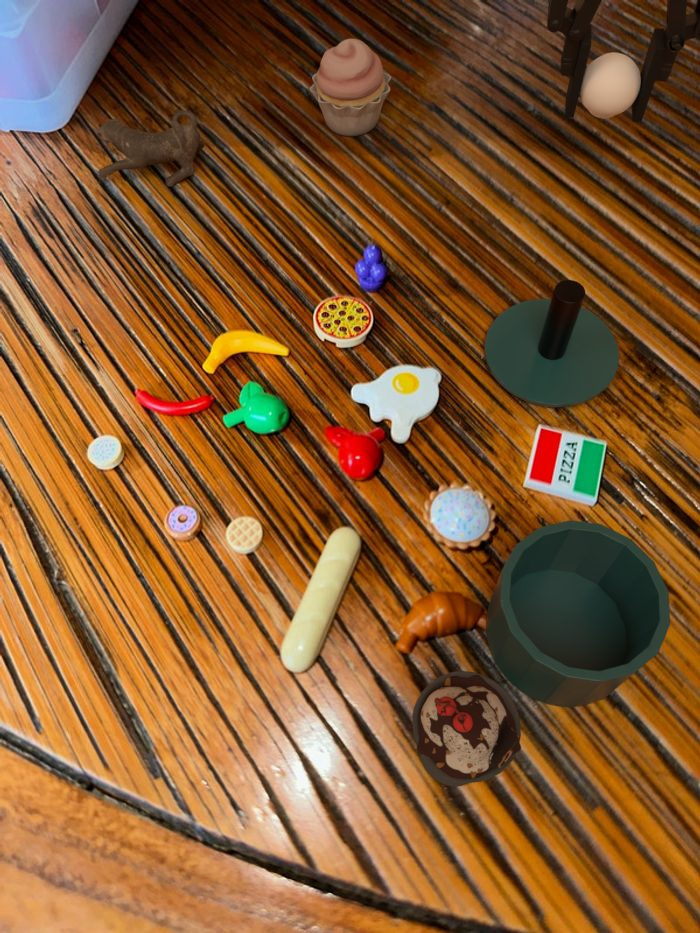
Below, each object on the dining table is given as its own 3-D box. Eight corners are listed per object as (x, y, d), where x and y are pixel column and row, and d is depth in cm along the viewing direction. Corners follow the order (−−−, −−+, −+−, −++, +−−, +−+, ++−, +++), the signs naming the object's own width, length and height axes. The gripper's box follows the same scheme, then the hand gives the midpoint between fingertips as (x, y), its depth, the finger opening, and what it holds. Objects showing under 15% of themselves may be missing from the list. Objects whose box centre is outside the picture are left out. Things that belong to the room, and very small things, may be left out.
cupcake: (301, 138, 89) (293, 57, 80) (327, 89, 93) (322, 7, 85) (377, 153, 87) (377, 72, 79) (400, 103, 92) (403, 20, 83)
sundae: (392, 724, 57) (396, 676, 44) (474, 691, 58) (501, 633, 45) (428, 814, 54) (443, 791, 41) (514, 777, 55) (556, 743, 42)
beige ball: (629, 96, 67) (645, 41, 63) (633, 132, 65) (651, 77, 61) (572, 94, 68) (584, 39, 63) (574, 130, 65) (587, 75, 61)
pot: (631, 574, 62) (666, 531, 54) (635, 717, 56) (673, 692, 49) (490, 556, 63) (505, 512, 56) (480, 695, 58) (495, 666, 50)
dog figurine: (211, 152, 89) (197, 93, 82) (206, 186, 86) (192, 129, 79) (109, 155, 89) (87, 97, 82) (101, 189, 86) (78, 132, 80)
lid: (615, 312, 75) (643, 243, 67) (617, 418, 69) (647, 357, 61) (487, 300, 76) (500, 231, 68) (478, 403, 70) (491, 341, 62)
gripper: (847, -261, 47) (707, 89, 67) (549, -264, 49) (501, 76, 69) (868, -208, 43) (713, 145, 63) (545, -213, 45) (495, 130, 65)
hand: (603, 109), depth 66 cm, fingers closed on beige ball, 5 cm apart
